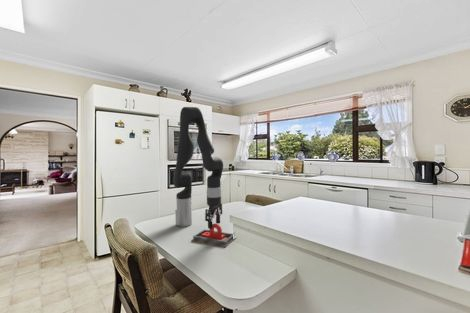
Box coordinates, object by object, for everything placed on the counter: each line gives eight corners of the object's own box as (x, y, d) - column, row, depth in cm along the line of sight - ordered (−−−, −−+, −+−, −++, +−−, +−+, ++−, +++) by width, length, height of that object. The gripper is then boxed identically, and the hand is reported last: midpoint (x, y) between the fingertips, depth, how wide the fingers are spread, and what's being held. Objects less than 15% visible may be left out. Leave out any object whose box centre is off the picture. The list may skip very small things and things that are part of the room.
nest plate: (191, 241, 115) (191, 236, 115) (204, 232, 127) (204, 228, 127) (225, 247, 107) (225, 243, 107) (236, 237, 118) (236, 233, 118)
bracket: (225, 237, 118) (224, 222, 118) (220, 240, 114) (220, 225, 114) (206, 233, 123) (205, 219, 123) (201, 236, 119) (201, 222, 119)
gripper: (213, 198, 108) (213, 231, 109) (226, 193, 121) (226, 222, 122) (200, 197, 111) (201, 229, 112) (214, 192, 124) (214, 220, 125)
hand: (214, 225), depth 117 cm, fingers open, 8 cm apart
